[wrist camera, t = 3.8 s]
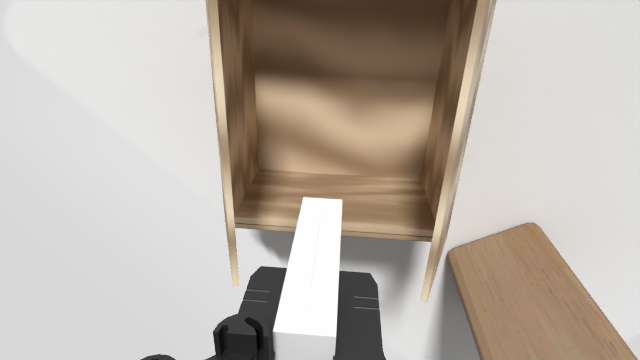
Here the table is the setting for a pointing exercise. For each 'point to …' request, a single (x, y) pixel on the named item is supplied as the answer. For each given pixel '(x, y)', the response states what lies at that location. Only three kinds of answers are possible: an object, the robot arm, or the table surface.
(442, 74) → the carton
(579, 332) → the wooden block
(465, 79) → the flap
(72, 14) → the table surface
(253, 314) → the robot arm
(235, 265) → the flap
